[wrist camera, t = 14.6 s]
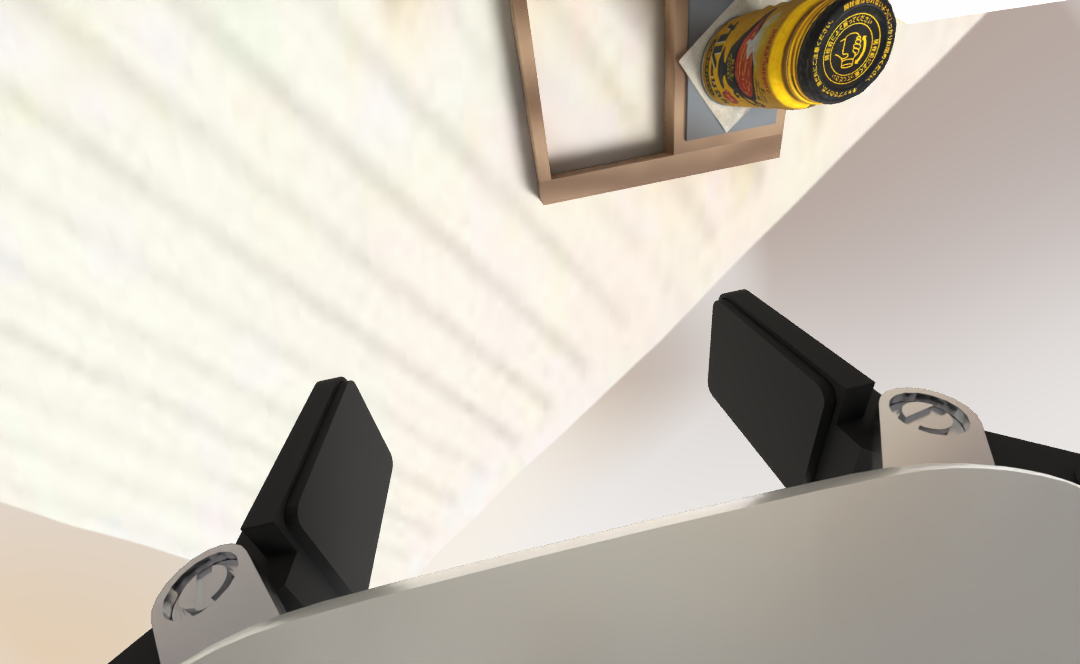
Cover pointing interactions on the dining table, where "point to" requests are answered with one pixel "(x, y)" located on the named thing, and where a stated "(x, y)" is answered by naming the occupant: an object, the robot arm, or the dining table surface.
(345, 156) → the dining table surface
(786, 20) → the condiment
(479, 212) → the dining table surface
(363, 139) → the dining table surface
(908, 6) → the cup
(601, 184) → the pocket board
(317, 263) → the dining table surface
